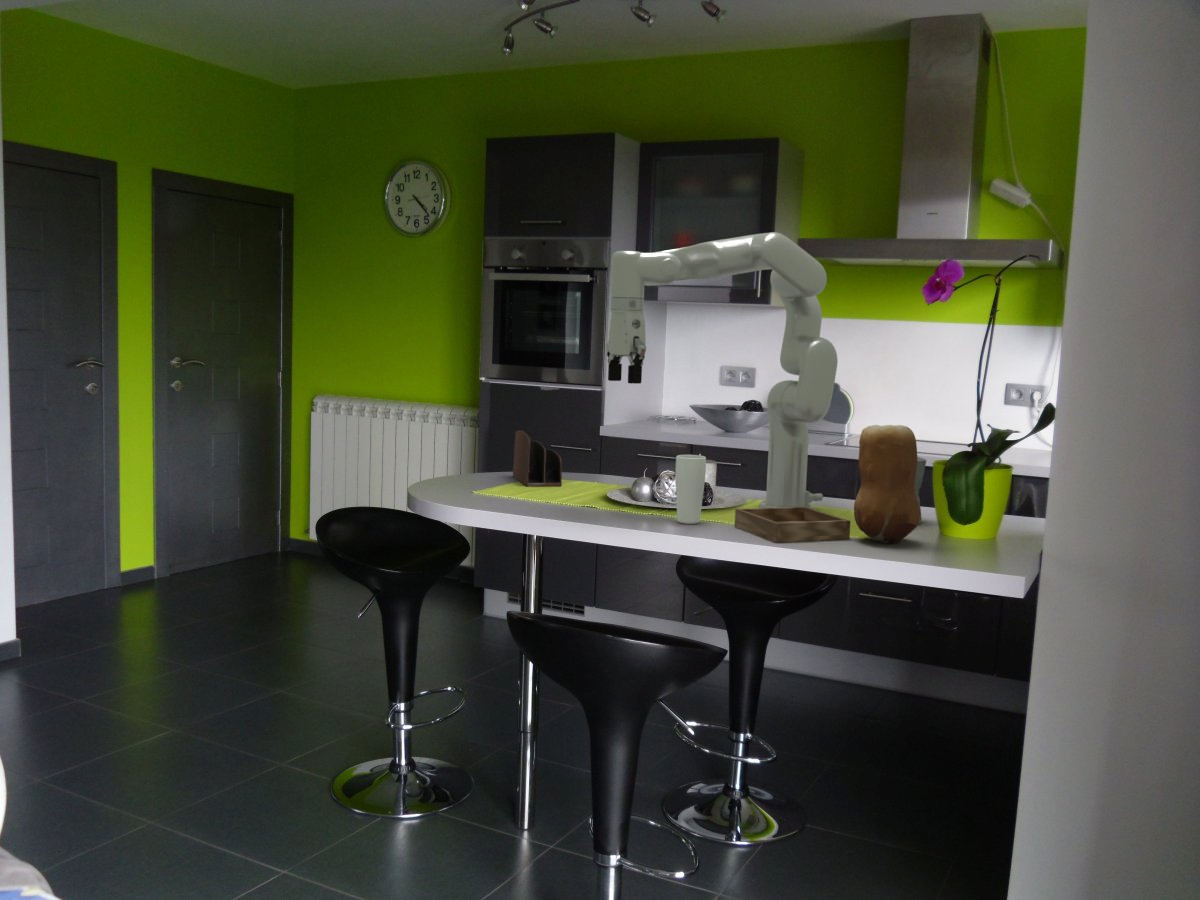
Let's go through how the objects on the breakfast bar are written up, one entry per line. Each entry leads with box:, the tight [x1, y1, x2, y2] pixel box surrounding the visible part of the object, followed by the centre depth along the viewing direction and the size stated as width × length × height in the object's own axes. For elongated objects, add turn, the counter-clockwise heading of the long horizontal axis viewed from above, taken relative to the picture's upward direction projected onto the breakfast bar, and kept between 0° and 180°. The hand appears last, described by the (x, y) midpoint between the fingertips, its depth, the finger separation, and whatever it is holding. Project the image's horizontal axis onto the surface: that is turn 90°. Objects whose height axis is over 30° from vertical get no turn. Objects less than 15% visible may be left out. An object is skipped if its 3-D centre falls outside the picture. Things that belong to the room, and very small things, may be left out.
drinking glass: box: [675, 454, 707, 525], centre depth 244 cm, size 7×7×15 cm
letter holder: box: [512, 430, 563, 488], centre depth 300 cm, size 10×20×14 cm, turn 15°
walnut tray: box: [734, 507, 852, 544], centre depth 236 cm, size 18×18×4 cm
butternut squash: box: [853, 424, 922, 545], centre depth 228 cm, size 14×13×25 cm
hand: (624, 382), depth 248 cm, fingers open, 9 cm apart
